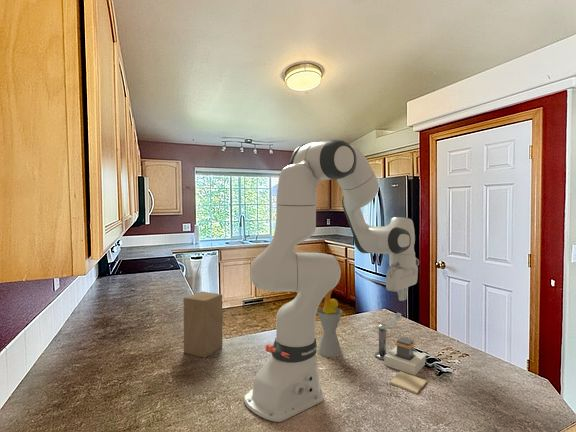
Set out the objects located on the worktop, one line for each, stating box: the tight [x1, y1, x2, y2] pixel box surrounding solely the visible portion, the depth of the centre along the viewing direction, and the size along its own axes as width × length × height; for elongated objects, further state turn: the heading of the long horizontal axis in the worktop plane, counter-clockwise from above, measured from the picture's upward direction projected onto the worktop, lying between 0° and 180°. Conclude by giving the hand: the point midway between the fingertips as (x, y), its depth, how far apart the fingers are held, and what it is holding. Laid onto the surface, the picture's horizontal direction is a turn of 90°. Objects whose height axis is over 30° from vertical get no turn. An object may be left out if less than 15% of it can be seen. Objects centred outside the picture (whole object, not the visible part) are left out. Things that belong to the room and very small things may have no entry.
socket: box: [383, 345, 427, 376], centre depth 103 cm, size 10×10×3 cm
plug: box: [394, 336, 416, 360], centre depth 103 cm, size 5×5×8 cm
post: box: [374, 329, 388, 361], centre depth 108 cm, size 5×5×10 cm
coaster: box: [389, 370, 428, 395], centre depth 92 cm, size 8×8×1 cm
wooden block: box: [183, 291, 223, 359], centre depth 113 cm, size 10×10×20 cm
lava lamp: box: [317, 287, 343, 358], centre depth 112 cm, size 9×9×35 cm
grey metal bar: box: [377, 312, 402, 331], centre depth 112 cm, size 15×3×2 cm, turn 135°
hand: (402, 300), depth 112 cm, fingers closed
